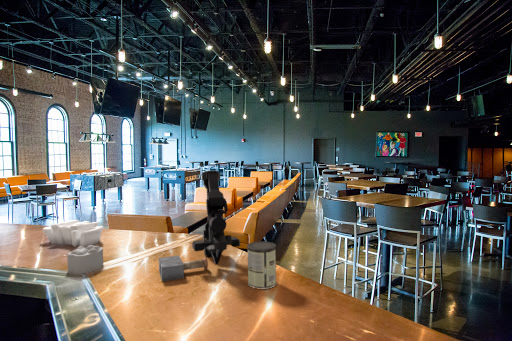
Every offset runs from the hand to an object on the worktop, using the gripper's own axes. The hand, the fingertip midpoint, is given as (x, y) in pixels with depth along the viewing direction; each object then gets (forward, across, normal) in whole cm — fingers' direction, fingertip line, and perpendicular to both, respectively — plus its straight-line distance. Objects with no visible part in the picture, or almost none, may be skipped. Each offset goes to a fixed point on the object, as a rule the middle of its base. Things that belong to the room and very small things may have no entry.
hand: (216, 264), depth 129 cm
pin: (+2, -11, 0) cm, 11 cm away
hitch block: (+2, -18, 0) cm, 18 cm away
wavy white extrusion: (+2, -60, +67) cm, 90 cm away
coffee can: (+2, +11, -22) cm, 25 cm away
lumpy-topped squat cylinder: (+2, -49, +21) cm, 53 cm away
